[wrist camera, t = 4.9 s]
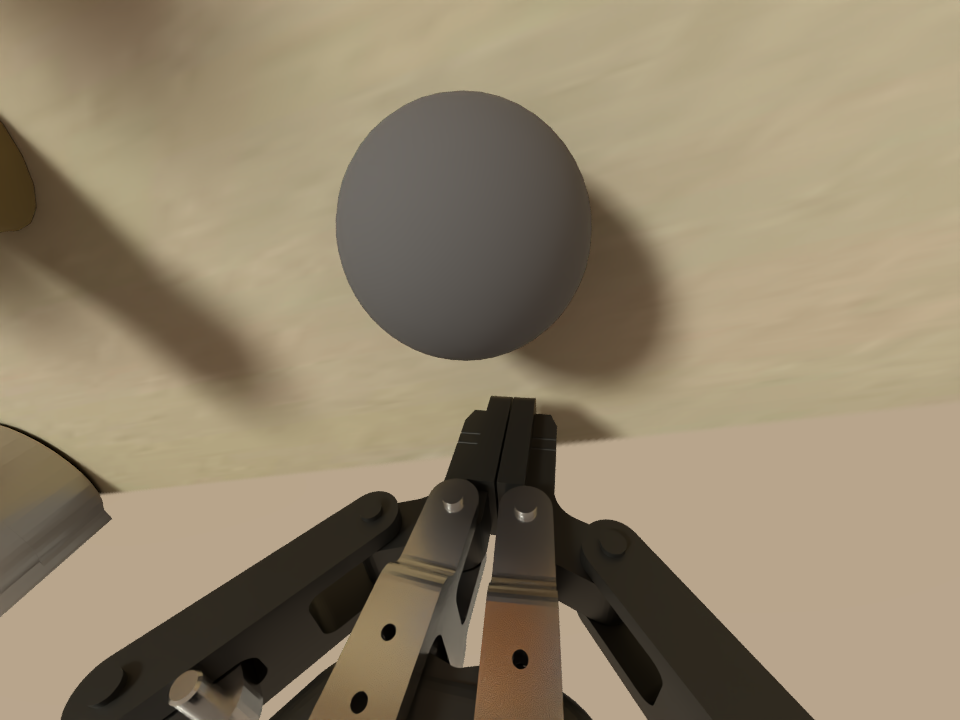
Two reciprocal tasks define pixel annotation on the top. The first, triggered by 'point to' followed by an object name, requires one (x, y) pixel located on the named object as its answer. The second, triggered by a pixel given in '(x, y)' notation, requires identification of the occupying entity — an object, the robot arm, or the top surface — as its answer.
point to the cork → (14, 187)
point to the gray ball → (463, 225)
